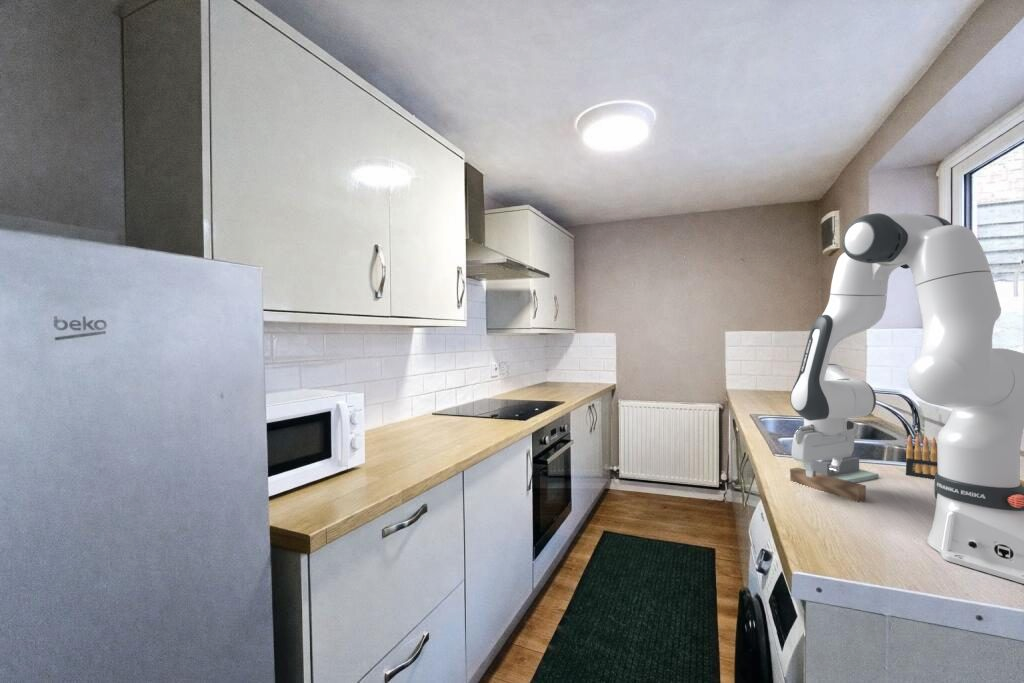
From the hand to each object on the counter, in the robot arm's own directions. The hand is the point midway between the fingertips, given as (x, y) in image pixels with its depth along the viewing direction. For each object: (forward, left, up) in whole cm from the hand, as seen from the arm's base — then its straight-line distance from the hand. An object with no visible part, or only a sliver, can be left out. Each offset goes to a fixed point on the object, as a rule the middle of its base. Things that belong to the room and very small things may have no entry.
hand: (822, 474), depth 124 cm
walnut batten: (-1, 0, -5) cm, 5 cm away
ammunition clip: (-6, -37, -5) cm, 38 cm away
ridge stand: (+7, -15, -4) cm, 17 cm away
